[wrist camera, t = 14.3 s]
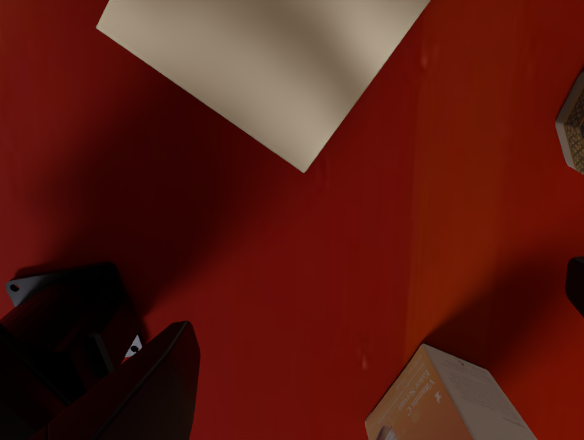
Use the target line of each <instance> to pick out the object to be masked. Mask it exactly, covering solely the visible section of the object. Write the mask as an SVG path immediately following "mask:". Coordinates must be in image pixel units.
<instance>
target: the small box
mask: <svg viewBox="0 0 584 440" xmlns="http://www.w3.org/2000/svg"><path fill="white" fill-rule="evenodd" d="M365 425H366V429H367V433H368V437H369V440H537V439H536V437H535V436H534V434H533V433H532V431H531V430H530V429H529V427H528V426H527V425H526V423H525V422H524V421H523V419H522V418H521V416H520V415H519V413H518V412H517V410H516V409H515V408H514V406H513V405H512V403H511V402H510V401H509V399H508V398H507V396H506V395H505V394H504V392H503V391H502V389H501V388H500V387H499V385H498V384H497V382H496V381H495V379H494V378H493V377H492V375H491V374H490V373H489V371H488V370H486V369H484V368H481V367H479V366H476V365H474V364H472V363H469V362H467V361H464V360H462V359H459V358H457V357H455V356H452V355H450V354H447V353H445V352H443V351H440V350H438V349H436V348H433V347H431V346H428V345H426V344H422V345H421V346H420V347H419V349H418V350H417V352H416V353H415V355H414V356H413V358H412V359H411V361H410V362H409V364H408V365H407V366H406V368H405V369H404V370H403V372H402V373H401V375H400V376H399V377H398V379H397V380H396V381H395V382H394V384H393V385H392V386H391V388H390V389H389V390H388V392H387V393H386V394H385V396H384V397H383V398H382V400H381V401H380V402H379V404H378V405H377V406H376V408H375V409H374V410H373V412H371V414H370V415H369V416H368V417H367V419H366V421H365Z"/></svg>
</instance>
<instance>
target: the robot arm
mask: <svg viewBox="0 0 584 440" xmlns="http://www.w3.org/2000/svg"><path fill="white" fill-rule="evenodd" d="M104 269H107V270H109V271H110V273H106V272H105V271H104ZM15 285H17V286H18V287H19V288H17V287H16V286H15ZM6 290H7V292H8V294H9V296H10V298H11V300H12V302H13V304H14V306H15V308H14V309H13V310H11V311H10V312H9V313H8V314H7V315H6V316H4V317H3V318H2V319H1V320H0V440H189V437H190V433H191V428H192V423H193V418H194V411H195V402H196V393H197V384H198V375H199V366H200V349H199V345H198V342H197V339H196V336H195V332H194V329H193V326H192V324H191V322H189V321H181V322H175V323H172V324H171V325H169V326H168V327H167V328H166V329H165V330H163V331H162V332H161V333H160V334H158V335H157V336H156V337H155V338H153V339H152V340H151V341H150V342H148V343H147V344H146V345H145V344H144V341H143V338H142V336H141V333H140V329H141V327H140V324H139V321H138V318H137V316H136V313H135V310H134V307H133V305H132V302H131V299H130V296H129V295H128V294H127V293H126V292H125V289H124V287H123V284H122V281H121V279H120V276H119V273H118V270H117V268H116V266H115V265H114V264H113V263H110V262H103V263H97V264H91V265H85V266H80V267H74V268H68V269H62V270H56V271H50V272H44V273H38V274H32V275H26V276H20V277H15V278H13V279H11V280H10V281H8V282H7V284H6ZM565 291H566V295H567V297H568V299H569V300H570V302H571V303H572V304H573V305H574V306H575V308H576V309H577V310H578V311H579V313H580V314H581V315H582V316H583V318H584V256H579V257H574V258H571V259H570V260H569V262H568V265H567V275H566V286H565ZM134 346H137V347H138V348H135V347H134ZM129 356H131V357H130V358H129V359H127V360H126V361H125V362H124V363H122V361H123V359H124V358H125V357H129ZM121 363H122V364H121Z"/></svg>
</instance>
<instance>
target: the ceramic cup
mask: <svg viewBox="0 0 584 440" xmlns="http://www.w3.org/2000/svg"><path fill="white" fill-rule="evenodd" d="M555 125H556V129H557V133H558V136H559V140H560V143H561V147H562V151H563V154H564V158H565V161H566V163H567V164H568V166H570V167H572V168H574V169H575V170H577V171H578V172H580V173H582V174H584V71H583V72H582V73H580V75H579V76H578V78H577V80H576V82H575V84H574V86H573V88H572V89H571V91H570V93H569V95H568V97H567V99H566V101H565V103H564V105H563V107H562V109H561V111H560V113H559V115H558V117H557V119H556V121H555Z"/></svg>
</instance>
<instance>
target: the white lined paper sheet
mask: <svg viewBox="0 0 584 440" xmlns="http://www.w3.org/2000/svg"><path fill="white" fill-rule="evenodd" d="M429 1H430V0H109V2H108V4H107V6H106V8H105V10H104V12H103V14H102V17H101V19H100V21H99V23H98V25H97V27H96V28H97V29H98V30H100V31H101V32H103V33H104V34H106V35H107V36H108V37H110V38H111V39H113V40H114V41H116V42H117V43H118V44H120V45H121V46H123V47H124V48H126V49H127V50H129V51H130V52H131V53H133V54H134V55H136V56H137V57H139V58H140V59H141V60H143V61H144V62H146V63H147V64H149V65H150V66H151V67H153V68H154V69H156V70H157V71H159V72H160V73H161V74H163V75H164V76H166V77H167V78H169V79H170V80H171V81H173V82H174V83H176V84H177V85H179V86H180V87H182V88H183V89H184V90H186V91H187V92H189V93H190V94H192V95H193V96H194V97H196V98H197V99H199V100H200V101H202V102H203V103H204V104H206V105H207V106H209V107H210V108H212V109H213V110H214V111H216V112H217V113H219V114H220V115H222V116H223V117H224V118H226V119H227V120H229V121H230V122H232V123H233V124H235V125H236V126H237V127H239V128H240V129H242V130H243V131H245V132H246V133H247V134H249V135H250V136H252V137H253V138H255V139H256V140H257V141H259V142H260V143H262V144H263V145H265V146H266V147H267V148H269V149H270V150H272V151H273V152H275V153H276V154H278V155H279V156H280V157H282V158H283V159H285V160H286V161H288V162H289V163H290V164H292V165H293V166H295V167H296V168H298V169H299V170H300V171H302V172H303V173H305V171H306V170H307V169H308V167H309V166H310V164H311V163H312V162H313V160H314V159H315V158H316V156H317V155H318V154H319V152H320V151H321V149H322V148H323V147H324V145H325V144H326V143H327V141H328V140H329V138H330V137H331V136H332V134H333V133H334V132H335V130H336V129H337V128H338V126H339V125H340V123H341V122H342V121H343V119H344V118H345V117H346V115H347V114H348V112H349V111H350V110H351V108H352V107H353V106H354V104H355V103H356V101H357V100H358V99H359V97H360V96H361V95H362V93H363V92H364V91H365V89H366V88H367V86H368V85H369V84H370V82H371V81H372V80H373V78H374V77H375V75H376V74H377V73H378V71H379V70H380V69H381V67H382V66H383V64H384V63H385V62H386V60H387V59H388V58H389V56H390V55H391V54H392V52H393V51H394V49H395V48H396V47H397V45H398V44H399V43H400V41H401V40H402V38H403V37H404V36H405V34H406V33H407V32H408V30H409V29H410V27H411V26H412V25H413V23H414V22H415V21H416V19H417V18H418V17H419V15H420V14H421V12H422V11H423V10H424V8H425V7H426V6H427V4H428V3H429Z"/></svg>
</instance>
